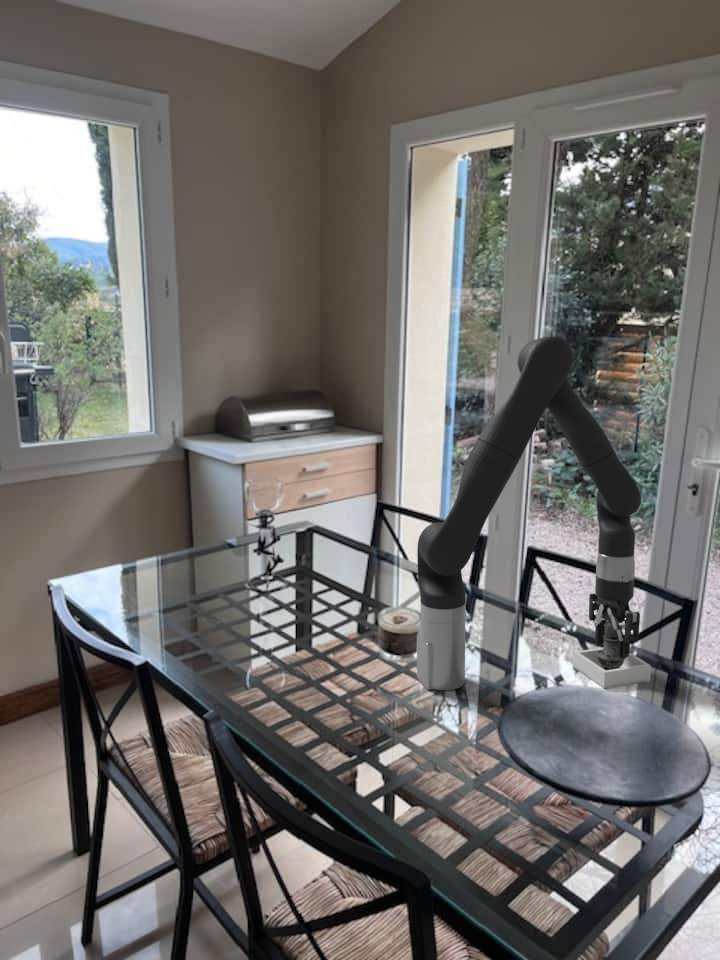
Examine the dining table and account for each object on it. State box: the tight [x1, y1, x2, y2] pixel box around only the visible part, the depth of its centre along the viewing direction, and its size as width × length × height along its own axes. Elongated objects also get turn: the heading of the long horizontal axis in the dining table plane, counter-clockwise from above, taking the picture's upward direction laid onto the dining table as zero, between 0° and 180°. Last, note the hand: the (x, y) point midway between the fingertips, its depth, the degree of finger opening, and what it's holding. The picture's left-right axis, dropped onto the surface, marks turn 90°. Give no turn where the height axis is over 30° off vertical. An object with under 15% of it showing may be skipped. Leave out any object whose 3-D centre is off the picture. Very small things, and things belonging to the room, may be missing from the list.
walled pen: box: [572, 647, 652, 689], centre depth 152 cm, size 11×11×4 cm
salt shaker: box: [596, 621, 626, 670], centre depth 151 cm, size 6×6×12 cm
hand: (611, 649), depth 151 cm, fingers open, 7 cm apart
